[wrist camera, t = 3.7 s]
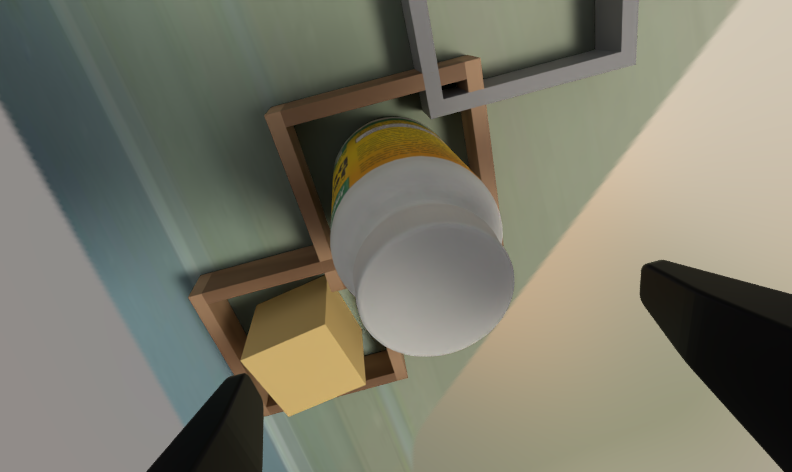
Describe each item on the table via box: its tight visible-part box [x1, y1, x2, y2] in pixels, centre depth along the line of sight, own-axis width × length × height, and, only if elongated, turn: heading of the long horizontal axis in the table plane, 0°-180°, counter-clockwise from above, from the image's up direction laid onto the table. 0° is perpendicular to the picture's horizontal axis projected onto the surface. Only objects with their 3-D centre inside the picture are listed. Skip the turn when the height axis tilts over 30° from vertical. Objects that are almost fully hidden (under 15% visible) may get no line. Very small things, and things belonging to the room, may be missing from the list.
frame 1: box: [264, 55, 504, 292], centre depth 18 cm, size 8×8×2 cm
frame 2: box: [188, 245, 408, 416], centre depth 21 cm, size 8×8×2 cm
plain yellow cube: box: [240, 275, 366, 417], centre depth 20 cm, size 4×4×4 cm
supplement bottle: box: [330, 117, 514, 356], centre depth 14 cm, size 5×5×10 cm
